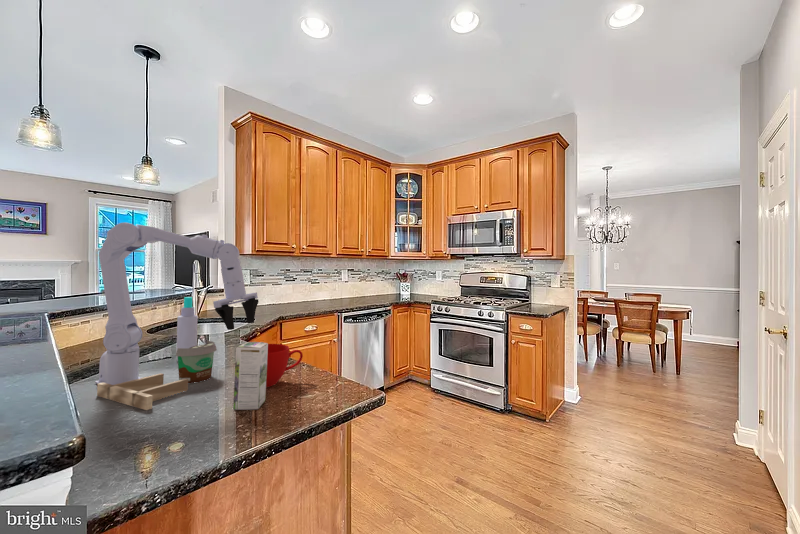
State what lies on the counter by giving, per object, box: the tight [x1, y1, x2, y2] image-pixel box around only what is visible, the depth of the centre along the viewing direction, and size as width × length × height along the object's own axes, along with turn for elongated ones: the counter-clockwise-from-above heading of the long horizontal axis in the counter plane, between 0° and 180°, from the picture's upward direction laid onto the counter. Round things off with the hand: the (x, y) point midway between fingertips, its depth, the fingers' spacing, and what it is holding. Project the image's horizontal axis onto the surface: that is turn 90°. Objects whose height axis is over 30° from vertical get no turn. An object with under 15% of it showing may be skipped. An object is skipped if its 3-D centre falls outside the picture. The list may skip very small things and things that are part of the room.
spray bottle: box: [175, 296, 198, 362], centre depth 124 cm, size 6×6×22 cm
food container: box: [175, 340, 218, 384], centre depth 103 cm, size 12×6×10 cm, turn 168°
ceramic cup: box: [266, 343, 304, 388], centre depth 101 cm, size 13×17×10 cm
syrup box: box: [232, 341, 269, 411], centre depth 84 cm, size 6×6×14 cm
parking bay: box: [96, 372, 189, 411], centre depth 89 cm, size 20×13×3 cm, turn 66°
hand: (241, 326), depth 109 cm, fingers open, 7 cm apart
